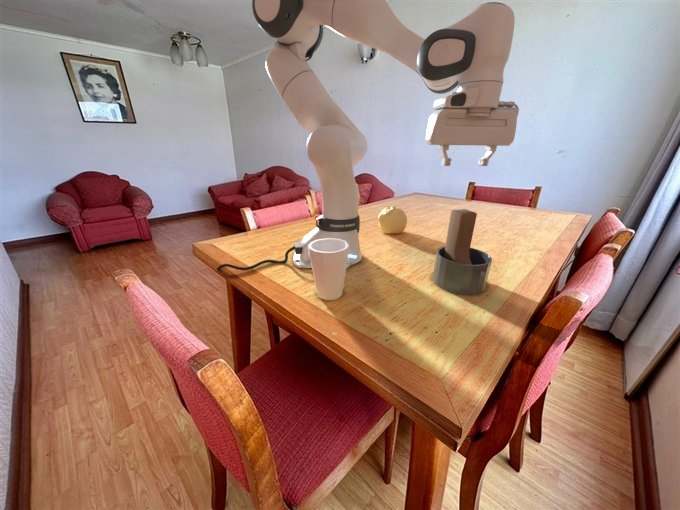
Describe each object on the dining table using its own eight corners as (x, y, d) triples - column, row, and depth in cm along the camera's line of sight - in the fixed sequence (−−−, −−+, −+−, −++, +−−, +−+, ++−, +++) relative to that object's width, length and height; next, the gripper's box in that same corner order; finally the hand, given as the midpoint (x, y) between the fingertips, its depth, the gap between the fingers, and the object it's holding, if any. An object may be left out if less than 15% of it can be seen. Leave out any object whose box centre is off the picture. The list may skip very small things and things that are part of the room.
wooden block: (475, 285, 68) (491, 217, 61) (460, 287, 67) (474, 218, 60) (454, 270, 76) (466, 208, 69) (440, 272, 75) (450, 209, 68)
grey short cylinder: (496, 293, 66) (503, 264, 63) (446, 296, 65) (451, 266, 62) (461, 264, 81) (466, 240, 78) (420, 266, 80) (423, 242, 77)
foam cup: (347, 283, 71) (347, 238, 66) (349, 303, 62) (350, 252, 57) (312, 284, 70) (309, 238, 65) (309, 304, 62) (306, 253, 57)
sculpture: (379, 226, 118) (380, 202, 113) (407, 229, 114) (409, 204, 110) (374, 234, 108) (375, 208, 103) (404, 237, 104) (407, 210, 100)
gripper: (511, 103, 62) (496, 165, 68) (427, 101, 60) (419, 164, 66) (531, 99, 56) (513, 167, 62) (439, 97, 55) (429, 167, 60)
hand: (464, 165), depth 64 cm, fingers open, 8 cm apart
